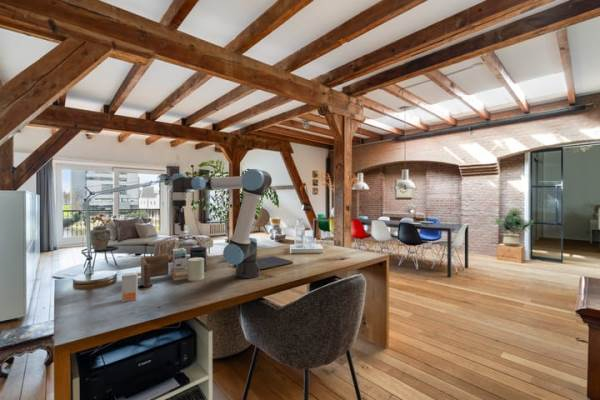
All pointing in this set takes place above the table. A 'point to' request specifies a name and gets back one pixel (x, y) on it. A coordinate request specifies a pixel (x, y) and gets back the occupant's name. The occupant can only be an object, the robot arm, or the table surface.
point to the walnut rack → (153, 268)
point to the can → (195, 269)
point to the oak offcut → (179, 276)
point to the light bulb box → (179, 258)
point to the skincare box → (129, 287)
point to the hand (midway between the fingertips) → (179, 235)
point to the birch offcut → (179, 271)
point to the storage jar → (199, 254)
